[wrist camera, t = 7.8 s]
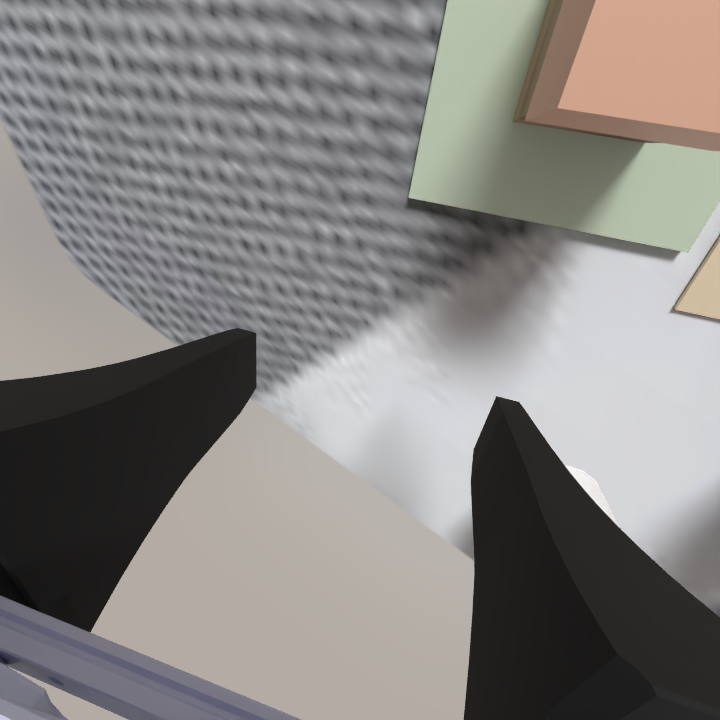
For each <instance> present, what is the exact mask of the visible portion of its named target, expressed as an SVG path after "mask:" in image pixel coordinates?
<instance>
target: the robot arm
mask: <svg viewBox="0 0 720 720" xmlns="http://www.w3.org/2000/svg"><path fill="white" fill-rule="evenodd" d="M255 389H256V333H254V332H251V331H247V330H243V329H239V328H236V329H231V330H228V331H224V332H221V333H217V334H214V335H211V336H208V337H205V338H202V339H199V340H196V341H193V342H190V343H186V344H183V345H180V346H177V347H174V348H171V349H168V350H164V351H160V352H157V353H154V354H150V355H147V356H143V357H140V358H136V359H132V360H128V361H124V362H120V363H116V364H111V365H106V366H101V367H96V368H92V369H86V370H80V371H74V372H67V373H61V374H54V375H48V376H41V377H33V378H24V379H15V380H5V381H0V720H68V719H67V718H65V717H64V716H63V715H62V714H61V713H60V712H59V710H58V709H57V708H56V707H55V706H54V705H53V704H52V703H51V701H50V699H49V697H48V695H47V692H46V690H45V689H44V688H42V687H41V686H39V685H37V684H36V683H34V682H32V681H31V680H29V679H27V678H26V677H24V676H22V675H21V674H19V673H17V672H16V671H14V670H12V669H11V668H14V669H16V670H18V671H20V672H22V673H25V674H27V675H29V676H32V677H34V678H36V679H38V680H40V681H43V682H45V683H47V684H49V685H52V686H54V687H56V688H59V689H61V690H63V691H65V692H68V693H70V694H72V695H74V696H77V697H79V698H81V699H84V700H86V701H88V702H90V703H93V704H95V705H97V706H100V707H101V708H104V709H106V710H108V711H111V712H113V713H115V714H118V715H120V716H122V717H124V718H127V719H129V720H301V719H299V718H296V717H294V716H291V715H289V714H287V713H284V712H282V711H279V710H277V709H274V708H272V707H270V706H267V705H264V704H262V703H260V702H257V701H255V700H253V699H250V698H248V697H245V696H243V695H240V694H238V693H235V692H233V691H231V690H228V689H226V688H223V687H221V686H218V685H216V684H214V683H211V682H209V681H206V680H204V679H201V678H199V677H197V676H194V675H192V674H189V673H187V672H184V671H182V670H180V669H177V668H175V667H172V666H170V665H168V664H165V663H162V662H160V661H158V660H155V659H153V658H150V657H148V656H146V655H143V654H141V653H138V652H136V651H133V650H131V649H128V648H126V647H124V646H121V645H119V644H117V643H114V642H112V641H109V640H107V639H104V638H102V637H100V636H97V635H95V634H92V633H90V632H91V630H92V628H93V627H94V624H95V623H96V621H97V619H98V617H99V616H100V614H101V612H102V610H103V609H104V607H105V605H106V603H107V601H108V600H109V598H110V596H111V594H112V593H113V591H114V589H115V587H116V585H117V584H118V582H119V580H120V579H121V577H122V575H123V574H124V572H125V570H126V569H127V567H128V565H129V564H130V562H131V560H132V559H133V557H134V555H135V554H136V552H137V551H138V549H139V547H140V546H141V544H142V542H143V541H144V539H145V538H146V536H147V534H148V533H149V531H150V530H151V528H152V527H153V525H154V524H155V522H156V521H157V519H158V517H159V516H160V514H161V513H162V511H163V510H164V508H165V507H166V505H167V504H168V502H169V501H170V500H171V498H172V497H173V495H174V494H175V492H176V491H177V489H178V488H179V487H180V485H181V484H182V482H183V480H184V479H185V478H186V476H188V474H189V473H190V471H191V470H192V469H193V468H194V467H195V465H196V464H197V463H198V462H199V461H200V460H201V458H202V457H203V456H204V455H205V454H206V453H207V451H208V450H209V449H210V448H211V447H212V446H213V444H214V443H215V442H216V441H217V440H218V439H219V437H220V436H221V435H222V434H223V433H224V432H225V430H226V429H227V428H228V427H229V426H230V425H231V423H232V422H233V421H234V420H235V419H236V417H237V416H238V415H239V414H240V412H241V411H242V409H243V408H244V406H245V405H246V403H247V402H248V400H249V399H250V397H251V395H252V394H253V392H254V390H255ZM471 496H472V518H473V538H474V567H475V576H474V595H473V613H472V627H471V642H470V656H469V669H468V680H467V690H466V701H465V712H464V720H720V617H718V616H717V615H716V614H715V613H714V612H712V611H711V610H710V609H709V608H708V607H706V606H705V605H704V604H703V603H701V602H700V601H699V600H698V599H697V598H695V597H694V596H693V595H692V594H691V593H689V592H688V591H687V590H686V589H685V588H684V587H682V586H681V585H680V584H679V583H678V582H677V581H676V580H674V579H673V578H672V577H671V576H670V575H669V574H668V573H666V572H665V571H664V570H663V569H662V568H661V567H660V566H659V565H658V564H657V563H656V562H655V561H653V560H652V559H651V558H650V557H649V556H648V555H647V554H646V553H645V552H644V551H643V550H642V549H641V548H639V547H638V546H637V545H636V544H635V543H634V542H633V541H632V540H631V539H630V538H629V537H628V536H627V535H626V534H625V533H624V532H623V531H622V530H621V529H620V528H619V527H618V526H617V525H616V524H615V523H614V522H613V521H612V520H611V518H610V517H609V516H608V515H607V514H606V513H605V512H604V511H603V510H602V509H601V508H600V507H599V506H598V505H597V504H596V502H595V501H594V500H593V499H592V498H591V497H590V496H589V495H588V493H587V492H586V491H585V490H584V489H583V487H582V486H581V485H580V484H579V483H578V481H577V480H576V479H575V478H574V477H573V475H572V474H571V473H570V472H569V470H568V469H567V468H566V467H565V465H564V464H563V463H562V461H561V460H560V459H559V457H558V456H557V455H556V453H555V452H554V451H553V449H552V448H551V447H550V445H549V444H548V442H547V441H546V440H545V438H544V437H543V435H542V434H541V433H540V431H539V430H538V428H537V427H536V425H535V424H534V422H533V421H532V420H531V418H530V417H529V415H528V414H527V412H526V411H525V409H524V408H523V407H522V405H521V404H520V403H519V402H517V401H513V400H509V399H505V398H501V397H498V396H496V399H495V401H494V403H493V406H492V408H491V410H490V413H489V415H488V417H487V420H486V422H485V424H484V427H483V429H482V431H481V434H480V436H479V438H478V441H477V443H476V445H475V448H474V452H473V462H472V474H471ZM8 666H9V667H11V668H9V667H8Z"/></svg>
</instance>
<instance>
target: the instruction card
mask: <svg viewBox="0 0 720 720" xmlns="http://www.w3.org/2000/svg"><path fill="white" fill-rule="evenodd" d="M674 309H675V310H679V311H684V312H688V313H693V314H697V315H702V316H707V317H711V318H716V319H720V237H719V238H718V240H717V241H716V243H715V244H714V246H713V248H712V249H711V251H710V252H709V254H708V255H707V257H706V258H705V260H704V262H703V263H702V265H701V266H700V268H699V269H698V271H697V272H696V274H695V275H694V277H693V279H692V280H691V282H690V283H689V285H688V286H687V288H686V289H685V291H684V292H683V294H682V296H681V297H680V299H679V300H678V302H677V303H676V305H675V306H674Z"/></svg>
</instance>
